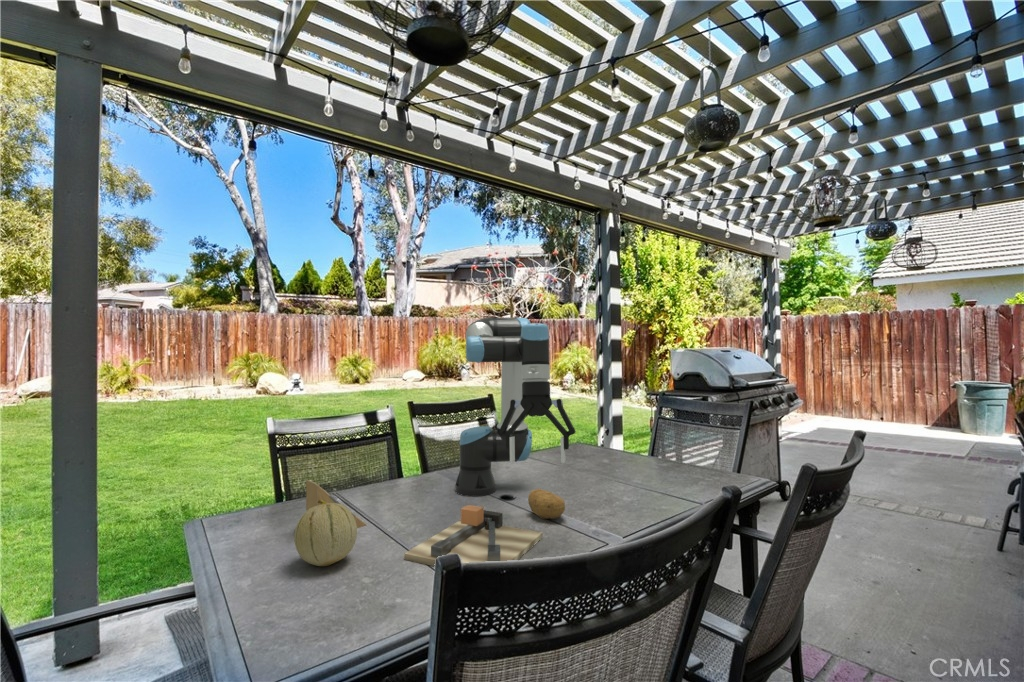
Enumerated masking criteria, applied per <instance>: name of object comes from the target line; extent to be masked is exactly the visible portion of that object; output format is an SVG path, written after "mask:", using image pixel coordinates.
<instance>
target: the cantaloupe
mask: <svg viewBox="0 0 1024 682" xmlns="http://www.w3.org/2000/svg"><path fill="white" fill-rule="evenodd" d="M318 503H321V504H320V505H317V506H314V507H312V508H310V509H309V510H307V511H305V512H304V513H303V514H302V515H301V517H300V518H299V520H298V522H297V523H296V526H295V530H294V535H293V536H294V546H295V550H296V551H297V553H298V555H299V557H300V558H301V559H302V560H303V561H305V562H306V563H308V564H310V565H313V566H317V567H328V566H330V565H333V564H335V563H337V562H340V561H342V559H345V558H346V556H347V555H348V554H350V552H351V551H352V550H353V548H354V546H355V545H356V541H357V535H358V528H357V524H356V520H355V518H354V516H353V514H354V513H353V512H352V511H350V509H348V507H346V506H345V505H344V504H342V503H340V504H338V503H326V502H325V501H323V500H319V501H318ZM341 504H342V505H341ZM352 513H353V514H352Z"/></svg>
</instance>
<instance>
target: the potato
mask: <svg viewBox="0 0 1024 682" xmlns="http://www.w3.org/2000/svg"><path fill="white" fill-rule="evenodd" d="M528 506H529V507H530V510H531V512H532V513H534V514H535V515H536V516H537V517H539V518H540V519H545V520H546V519H549V518H550V519H552V520H555V519H557V518H559V517H561V516H562V514H563V513H564V512H565V509H566V504H565V501H564V499H563V498H562V497H561V496H558V495H557V494H555V493H554V492H550V491H548V490H545V489H541V488H536V489H533V490H531V491H530V492H529V495H528Z"/></svg>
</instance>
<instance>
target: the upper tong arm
mask: <svg viewBox="0 0 1024 682" xmlns="http://www.w3.org/2000/svg"><path fill="white" fill-rule="evenodd" d="M485 529H486V530H489V545H488V561H500V545H495V521H492V517H485Z"/></svg>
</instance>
